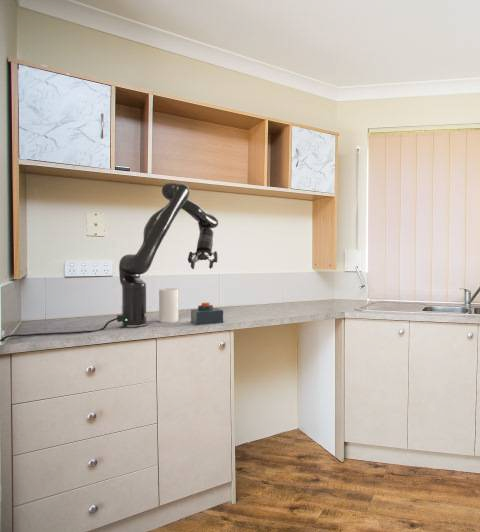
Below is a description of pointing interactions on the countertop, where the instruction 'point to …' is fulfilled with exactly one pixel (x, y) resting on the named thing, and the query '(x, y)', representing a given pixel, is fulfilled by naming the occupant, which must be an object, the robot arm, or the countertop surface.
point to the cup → (168, 305)
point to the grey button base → (206, 315)
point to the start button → (205, 304)
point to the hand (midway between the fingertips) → (201, 268)
